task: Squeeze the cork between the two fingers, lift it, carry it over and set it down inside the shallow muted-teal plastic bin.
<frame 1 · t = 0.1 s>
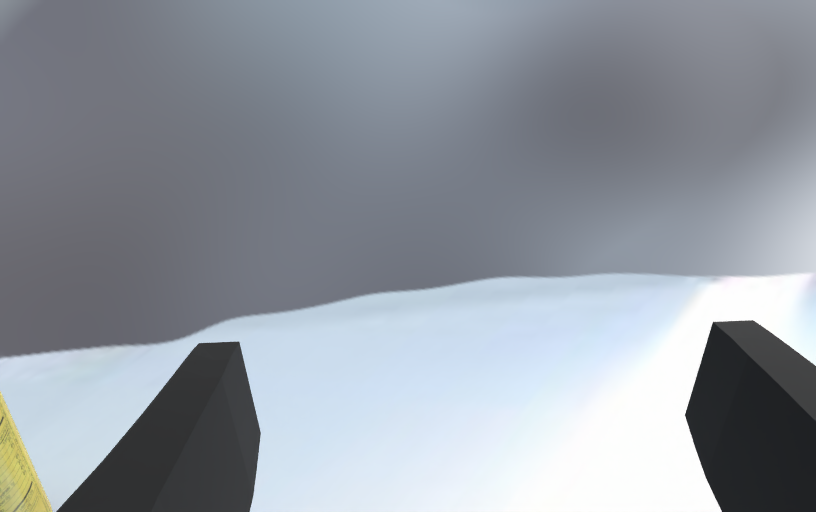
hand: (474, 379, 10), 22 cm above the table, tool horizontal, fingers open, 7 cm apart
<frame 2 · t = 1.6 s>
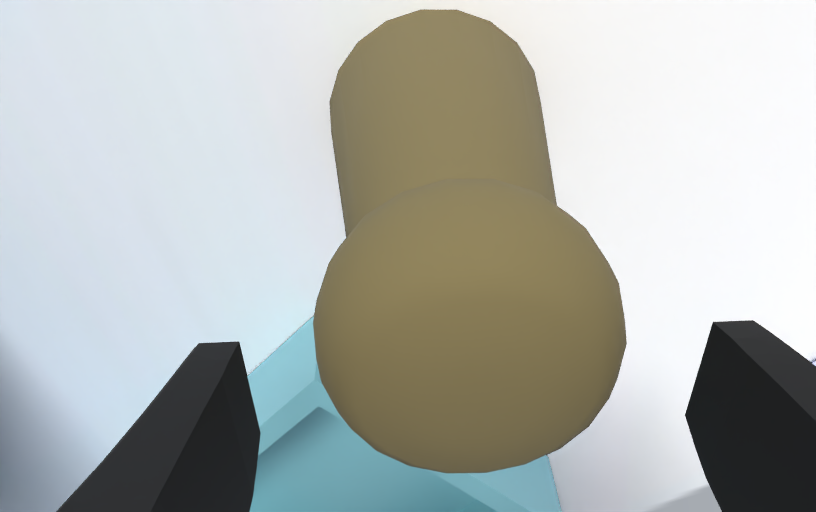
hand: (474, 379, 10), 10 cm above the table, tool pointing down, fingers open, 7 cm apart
cork: (434, 114, 19), on the table
teal bin: (344, 465, 27), on the table
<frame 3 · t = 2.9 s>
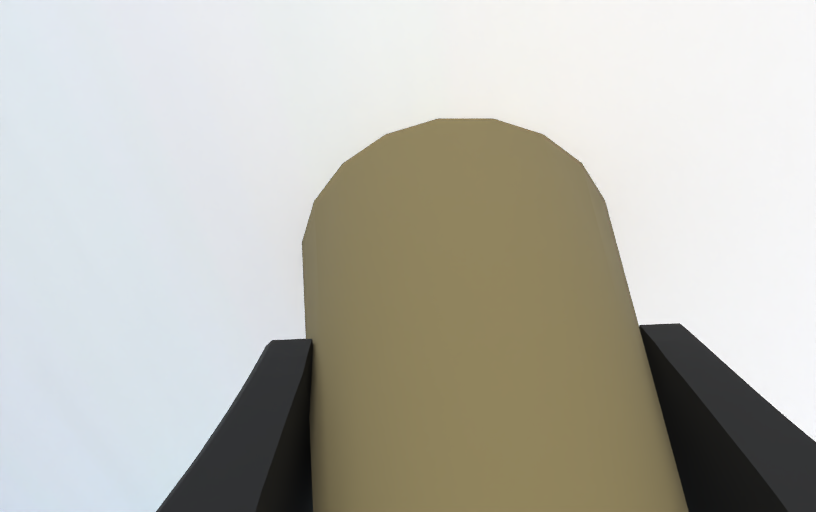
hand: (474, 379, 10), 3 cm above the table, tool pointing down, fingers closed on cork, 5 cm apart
cork: (455, 256, 13), on the table, touching gripper
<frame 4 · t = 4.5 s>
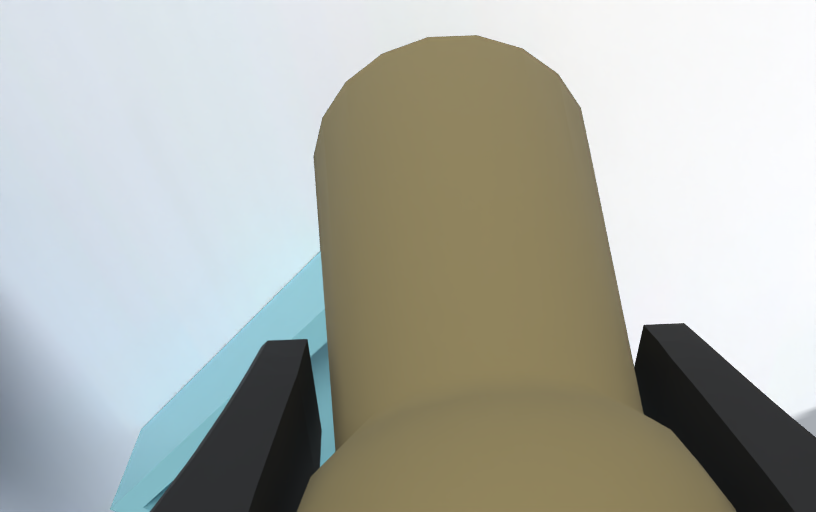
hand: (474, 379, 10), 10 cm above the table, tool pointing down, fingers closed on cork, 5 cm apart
cork: (450, 165, 15), point 4 cm above the table, touching gripper
teal bin: (359, 418, 26), on the table
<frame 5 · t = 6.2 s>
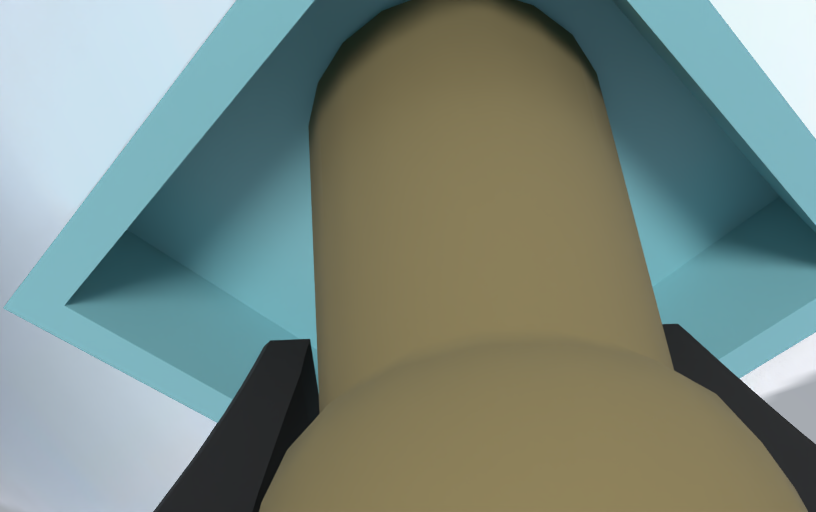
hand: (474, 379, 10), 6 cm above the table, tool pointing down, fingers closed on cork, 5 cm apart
cork: (455, 137, 14), point 1 cm above the table, touching gripper, teal bin
teal bin: (446, 196, 15), on the table
when the fingers open (6 cm above the table, at t = 6.5 s): cork stays where it is, resting on teal bin.
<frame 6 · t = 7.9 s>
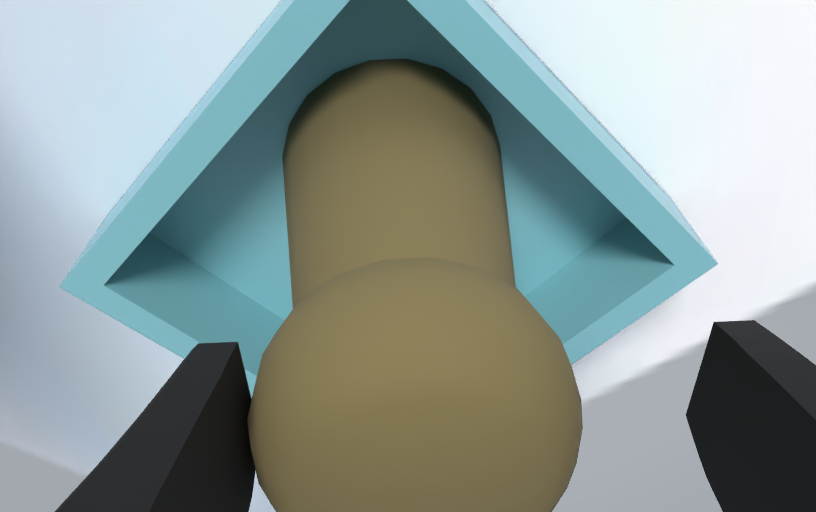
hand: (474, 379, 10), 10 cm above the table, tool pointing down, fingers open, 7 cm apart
cork: (392, 163, 18), point 1 cm above the table, touching gripper, teal bin
teal bin: (389, 206, 20), on the table
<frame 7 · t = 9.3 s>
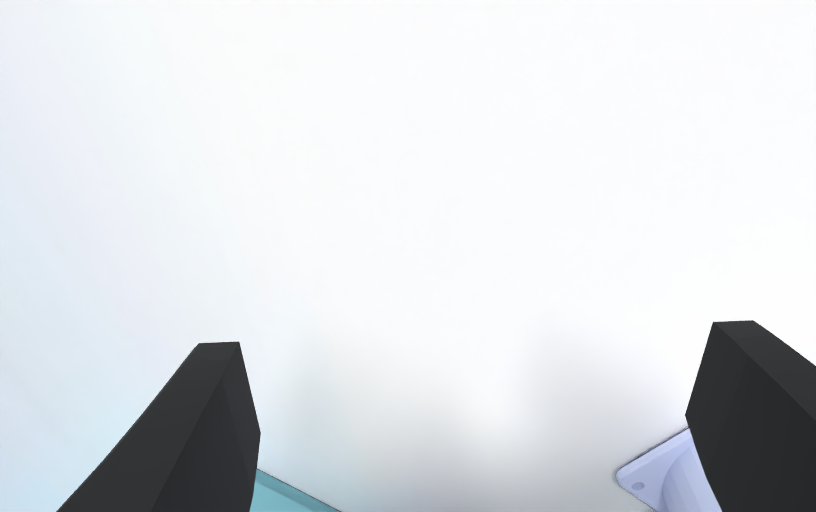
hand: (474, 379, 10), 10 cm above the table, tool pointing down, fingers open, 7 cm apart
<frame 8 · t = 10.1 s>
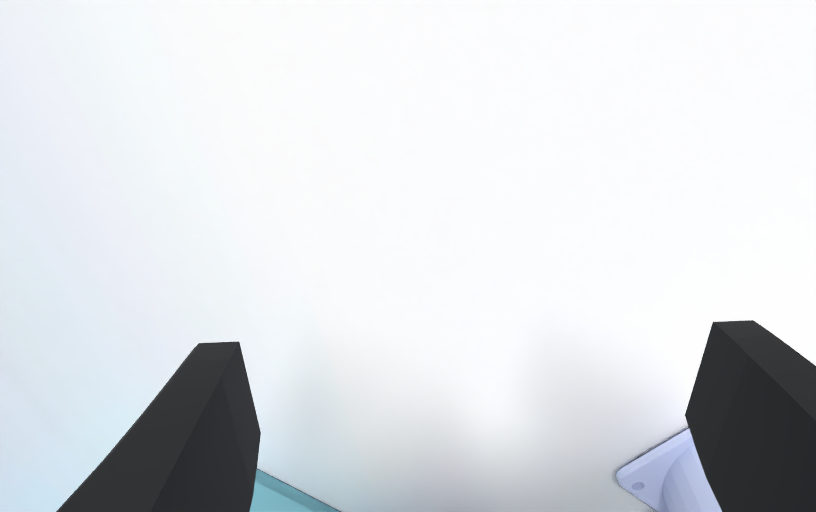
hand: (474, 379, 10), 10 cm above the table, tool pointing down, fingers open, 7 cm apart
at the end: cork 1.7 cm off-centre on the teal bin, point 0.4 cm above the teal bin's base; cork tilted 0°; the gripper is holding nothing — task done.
